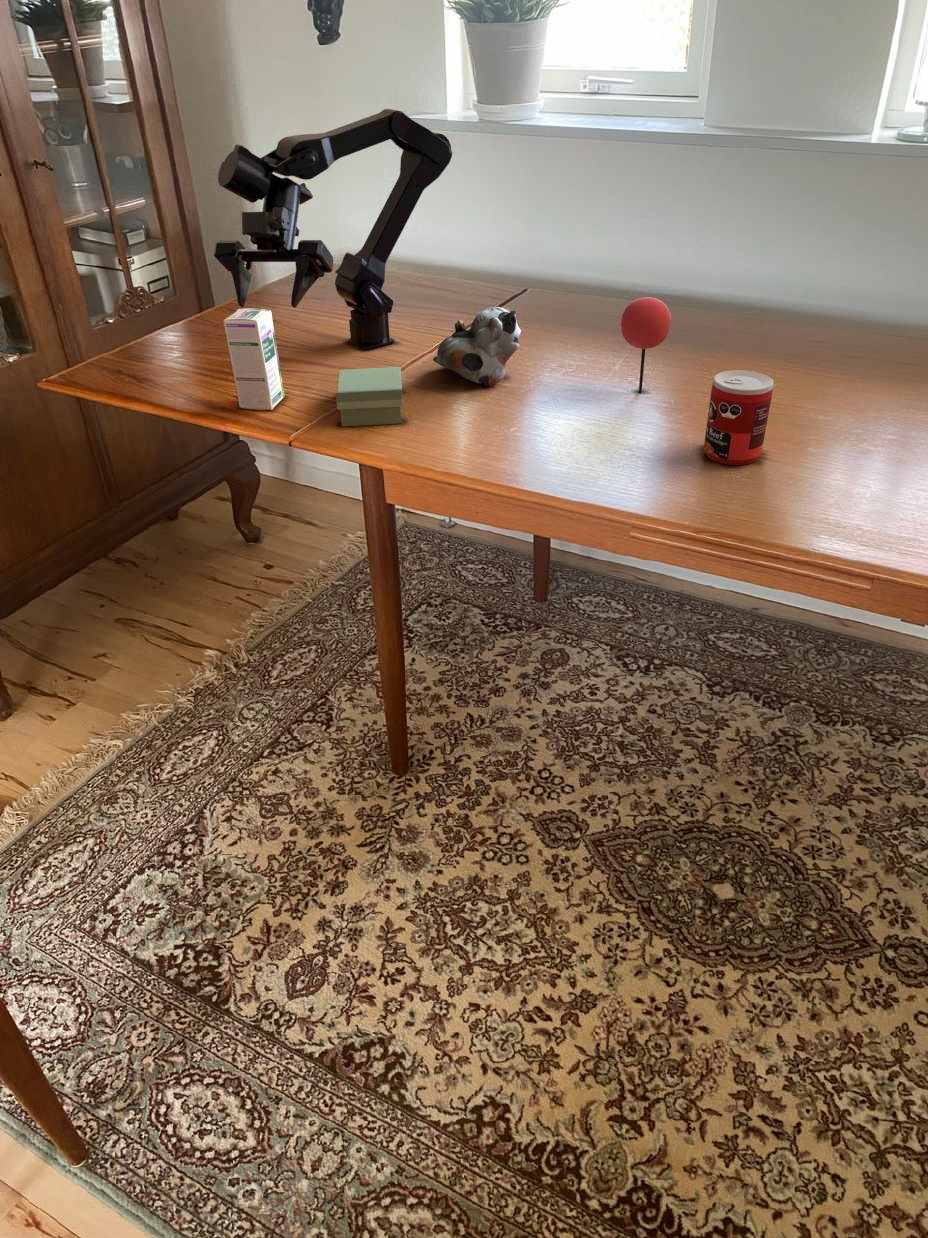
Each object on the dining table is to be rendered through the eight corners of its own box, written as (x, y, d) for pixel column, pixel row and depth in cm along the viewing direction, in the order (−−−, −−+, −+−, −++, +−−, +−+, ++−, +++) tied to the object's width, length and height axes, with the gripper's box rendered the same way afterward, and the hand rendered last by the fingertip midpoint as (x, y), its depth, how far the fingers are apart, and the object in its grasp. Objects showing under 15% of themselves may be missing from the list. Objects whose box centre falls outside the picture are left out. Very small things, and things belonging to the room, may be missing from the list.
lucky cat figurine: (442, 359, 165) (477, 285, 159) (501, 391, 164) (538, 318, 159) (421, 364, 151) (458, 282, 146) (486, 399, 150) (525, 318, 145)
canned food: (696, 444, 134) (706, 370, 128) (750, 441, 134) (762, 367, 128) (712, 467, 128) (723, 391, 121) (768, 464, 128) (782, 388, 122)
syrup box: (272, 410, 147) (258, 319, 139) (238, 408, 148) (222, 318, 140) (285, 397, 152) (272, 308, 144) (251, 395, 153) (237, 306, 145)
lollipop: (666, 385, 153) (676, 293, 144) (659, 402, 147) (669, 307, 138) (620, 380, 155) (628, 289, 146) (611, 397, 149) (618, 303, 140)
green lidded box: (401, 389, 154) (399, 357, 150) (404, 423, 142) (402, 389, 139) (341, 392, 153) (338, 360, 150) (339, 427, 142) (335, 392, 138)
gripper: (204, 187, 145) (189, 281, 143) (315, 185, 141) (301, 282, 139) (236, 226, 156) (223, 313, 154) (339, 225, 152) (327, 315, 150)
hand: (266, 306), depth 149 cm, fingers open, 9 cm apart
